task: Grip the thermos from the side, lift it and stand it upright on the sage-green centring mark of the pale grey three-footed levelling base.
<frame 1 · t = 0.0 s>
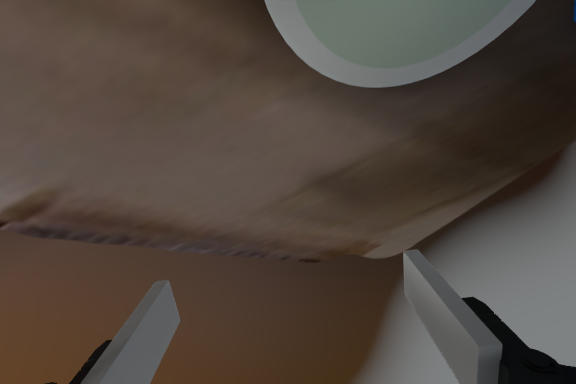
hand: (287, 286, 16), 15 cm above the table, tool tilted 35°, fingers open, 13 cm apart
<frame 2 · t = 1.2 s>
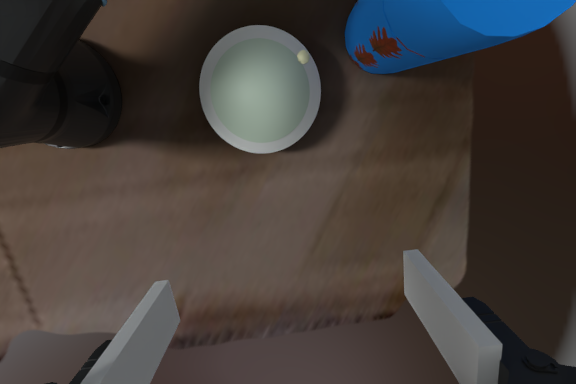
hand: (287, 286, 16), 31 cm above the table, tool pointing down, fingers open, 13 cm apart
levelling base: (262, 93, 43), on the table
thermos: (381, 34, 41), on the table
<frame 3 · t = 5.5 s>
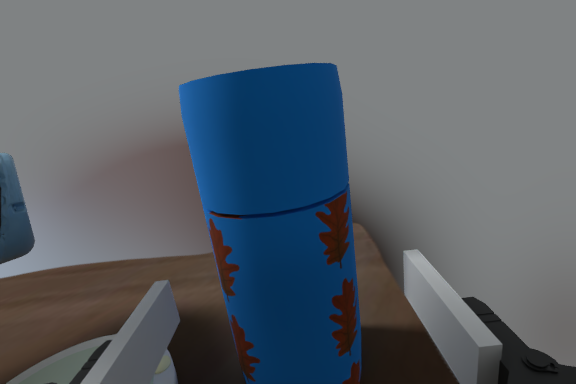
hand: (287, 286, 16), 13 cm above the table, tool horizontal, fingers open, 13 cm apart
thermos: (303, 368, 27), on the table
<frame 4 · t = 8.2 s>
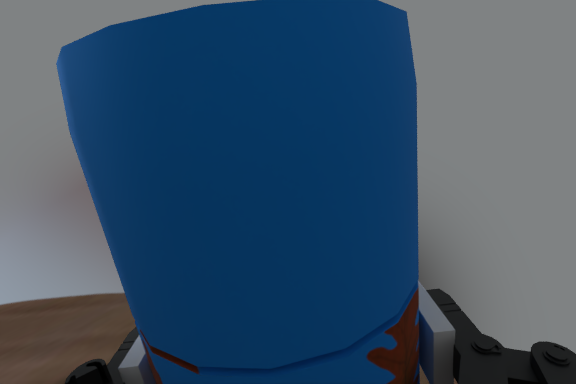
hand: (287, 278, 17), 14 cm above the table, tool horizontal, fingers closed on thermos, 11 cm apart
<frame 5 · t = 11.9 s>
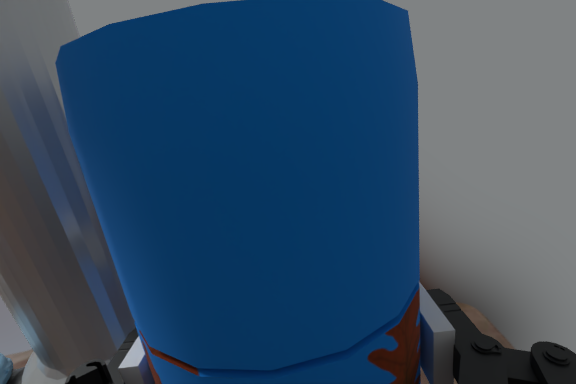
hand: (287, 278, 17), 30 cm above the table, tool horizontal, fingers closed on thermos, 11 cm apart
when the fingers open (19 cm above the table, at t = 15.6 s): thermos drops 1 cm, resting on levelling base.
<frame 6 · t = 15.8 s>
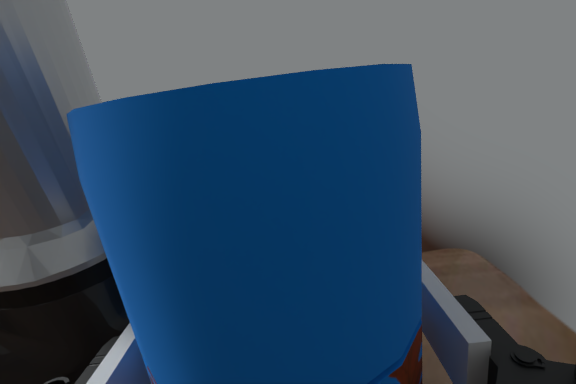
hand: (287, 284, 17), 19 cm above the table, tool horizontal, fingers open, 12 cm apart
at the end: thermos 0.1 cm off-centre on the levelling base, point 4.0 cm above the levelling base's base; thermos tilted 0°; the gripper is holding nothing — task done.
